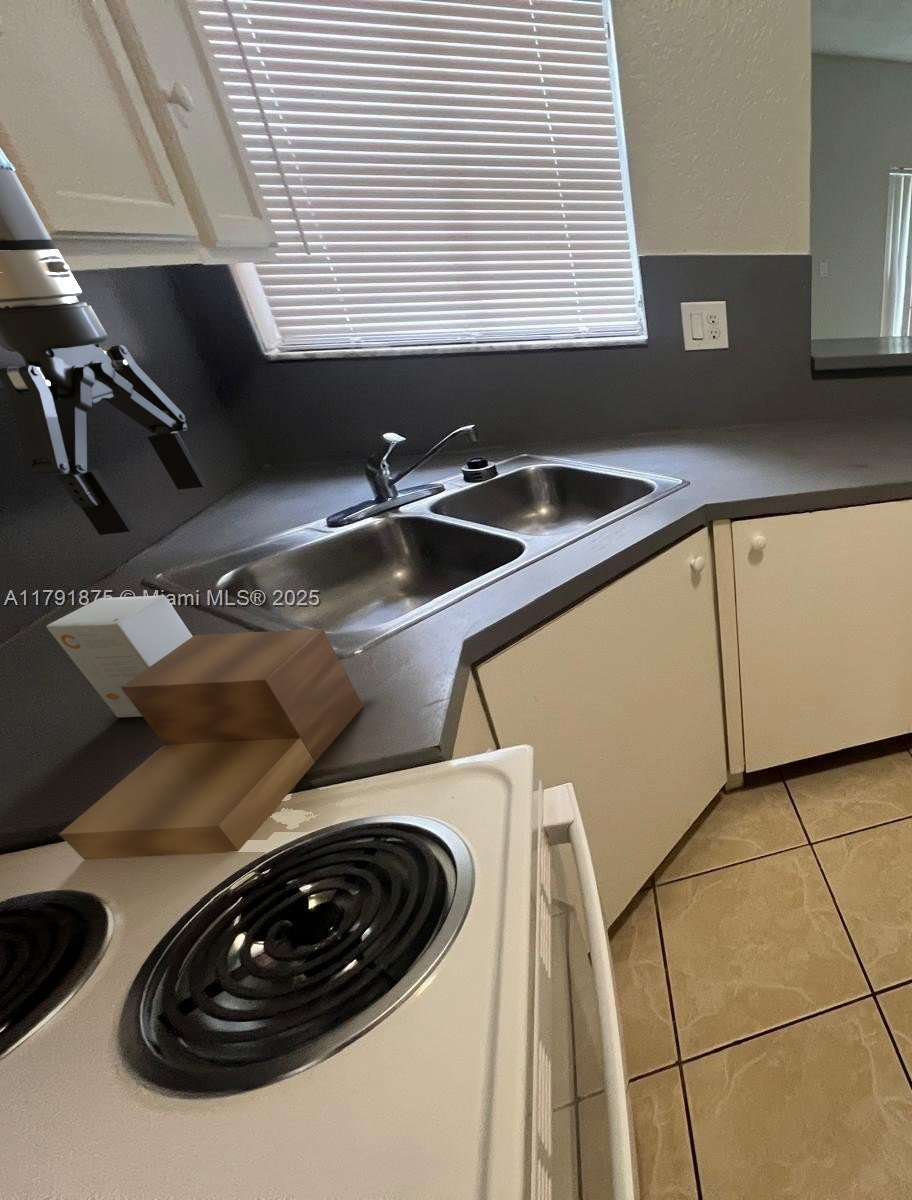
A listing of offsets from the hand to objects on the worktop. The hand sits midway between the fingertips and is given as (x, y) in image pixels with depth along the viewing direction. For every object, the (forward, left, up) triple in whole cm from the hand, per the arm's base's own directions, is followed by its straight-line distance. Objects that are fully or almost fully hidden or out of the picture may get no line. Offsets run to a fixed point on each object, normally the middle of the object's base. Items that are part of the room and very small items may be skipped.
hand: (158, 508), depth 71 cm
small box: (-4, -7, -22) cm, 24 cm away
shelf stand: (+14, -20, -22) cm, 33 cm away
